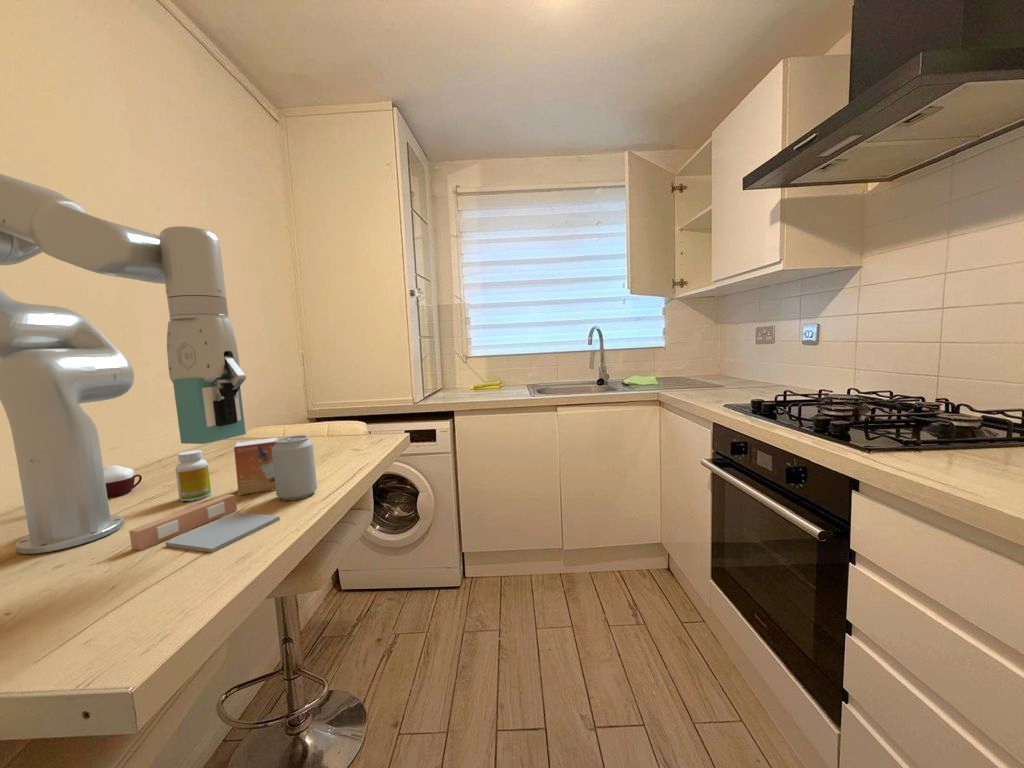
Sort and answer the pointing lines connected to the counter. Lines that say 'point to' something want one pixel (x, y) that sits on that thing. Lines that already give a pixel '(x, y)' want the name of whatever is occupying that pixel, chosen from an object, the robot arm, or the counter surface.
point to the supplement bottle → (192, 476)
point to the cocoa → (119, 480)
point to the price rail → (181, 522)
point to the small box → (254, 466)
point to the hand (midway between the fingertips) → (213, 423)
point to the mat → (222, 532)
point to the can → (294, 467)
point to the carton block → (203, 413)
